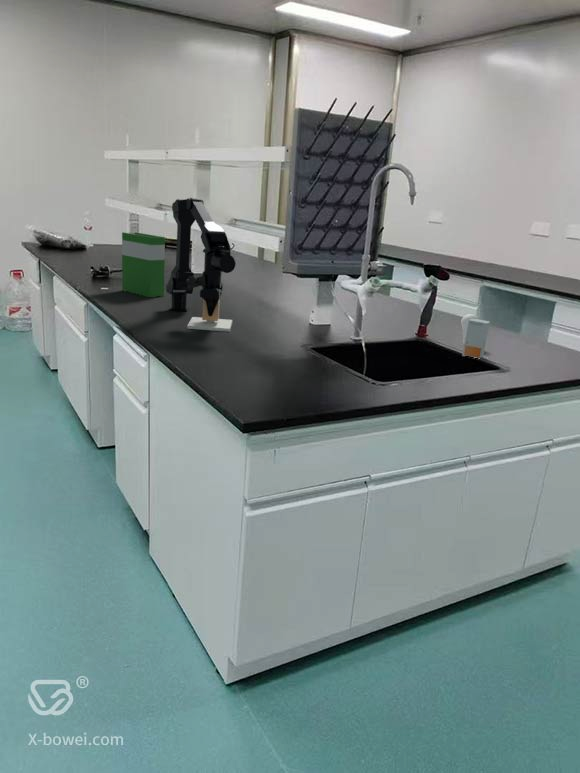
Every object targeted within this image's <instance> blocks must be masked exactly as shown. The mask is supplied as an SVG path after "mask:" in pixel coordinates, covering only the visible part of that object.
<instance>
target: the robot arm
mask: <svg viewBox="0 0 580 773" xmlns="http://www.w3.org/2000/svg"><path fill="white" fill-rule="evenodd" d="M171 209H172V210H171V211H172V217H173V219H174V221H175V222H176V226H177V227H176V228H177V230H176V252H175V253H176V254H175V256H176V257H175V266H174V267H173V269H172V270H171V272H170V278H169V280H168V282H167V284H166V286H165V290H166V291H165V292H166V293H167V294H169V295H171V298H170V299H171V301H170V302H171V303H170V304H171V305H170V307H169V308H168V310H169V311H177V312H187V311H188V309H189V306H188V302H187V301H188V295H192V294H193V292H194V288H197V287H201V289H200V291H199V298H201V299H203V300H205V301H206V305H207V310H208V316H212V315H213V312H214V310H215V308H216V305H217V303H218V301H219V299H220V298H221V296H222V292H223V290H224V283H223V282H222V275H223V273H226V274H228V273H231V272H233V271H234V270H235V268H236V266H237V265H236V259H235V258H234V256H232V254H231V244H230V242H229V240H228V236H227V233H226V232H225V230H224V229H223V227H221V226H220V225H218V224H217V223H215V222H214V221H213V219H212V217H211V215H210V213H209V211H208V209H207V208H206V206H205V204H204V200H203V199H202V198H198V197H187V199H175V201H174V202H172V207H171ZM195 222H196V224H197V225H198V227H199V229H200V231H201V235H200V239H201V242H202V245H203V246H204V248H203V250H202V253H204V265H203V266H204V267H203V269H204V270H203V271H202V273H201V274H199V275H196V276H195V274H194V272H192V270H191V267H190V257H191V254H190V253H191V234H192V226H193V224H194V223H195Z"/></svg>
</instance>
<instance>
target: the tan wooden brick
mask: <svg viewBox="0 0 580 773" xmlns="http://www.w3.org/2000/svg"><path fill="white" fill-rule="evenodd" d="M220 300H221V299H220V298H219V301H218V303H217V305H216V308H215V310H214V312H213V315H212V316H208V310H207V305H206V301H205V300H204V299H203V300H202V316H201V318H202V320H209V321H218V319H220V303H221V301H220Z"/></svg>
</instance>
